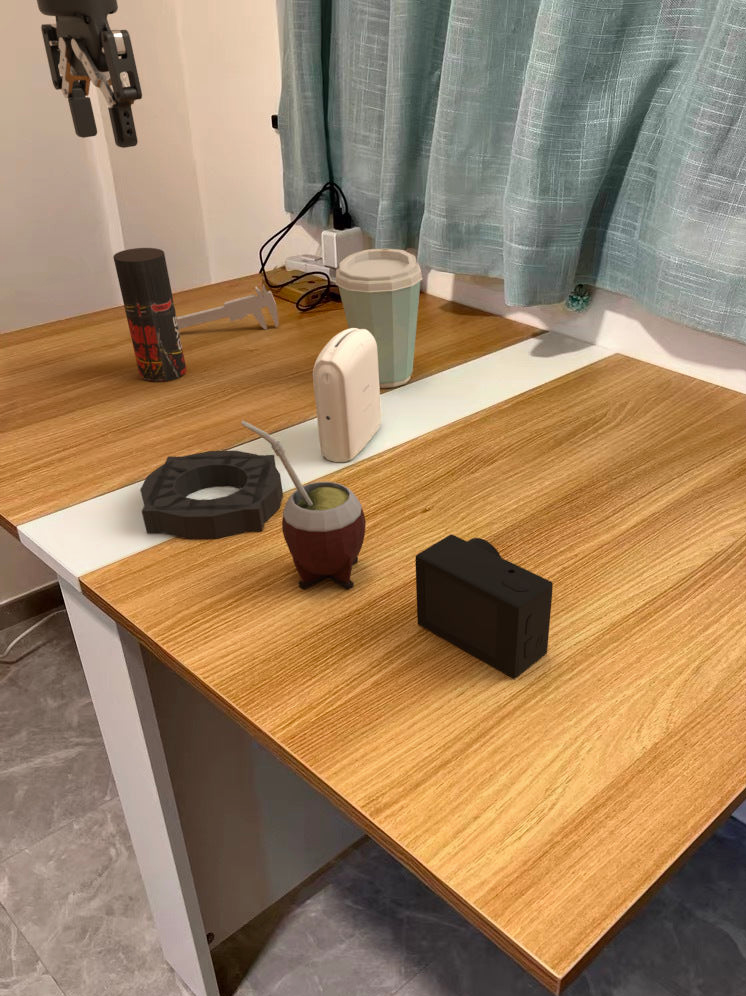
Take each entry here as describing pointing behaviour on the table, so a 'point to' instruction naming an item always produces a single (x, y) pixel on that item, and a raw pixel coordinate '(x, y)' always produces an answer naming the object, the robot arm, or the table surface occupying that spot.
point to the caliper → (235, 310)
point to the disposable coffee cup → (383, 306)
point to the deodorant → (150, 313)
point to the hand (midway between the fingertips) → (107, 141)
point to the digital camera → (483, 603)
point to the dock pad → (214, 516)
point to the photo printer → (347, 394)
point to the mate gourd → (320, 526)
